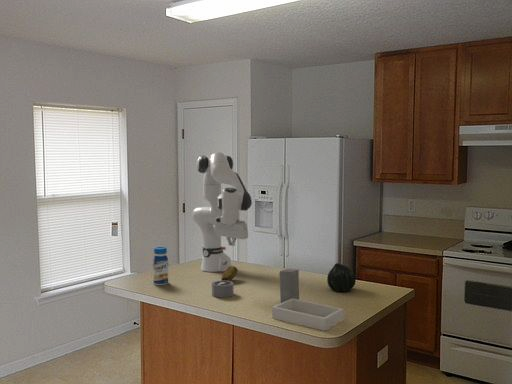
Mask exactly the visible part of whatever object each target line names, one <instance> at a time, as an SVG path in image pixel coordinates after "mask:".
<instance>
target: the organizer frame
mask: <svg viewBox="0 0 512 384" xmlns="http://www.w3.org/2000/svg"><path fill="white" fill-rule="evenodd" d="M271 308H272V310H271V311H272V313H271V314H272V319H274V320H279V321H283V322H287V323H291V324H295V325H298V326H304V327H306V328H311V329H315V330H318V331H319V330H320V331H325V330H326V331H327V330H329V329H331V328H333V327H334V326H336V325H337V323H338V322H340V321H341V320H343V321H344V308H341V307H337V306H336V307H335V306H331V305H326V304H322V303H318V302H317V303H316V302H312V301H308V300H302V299H299V300H298V299H293V298H292V299H290V300H287V301H285V302H283V303H281V302H280V303H278V304H276V305H273V306H272V307H271ZM341 322H342V321H341ZM341 322H340V323H341ZM335 324H336V325H335ZM338 324H339V323H338ZM333 325H334V326H333ZM332 326H333V327H332ZM330 327H331V328H330ZM328 328H329V329H328Z"/></svg>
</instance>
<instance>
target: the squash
mask: <svg viewBox="0 0 512 384" xmlns="http://www.w3.org/2000/svg"><path fill="white" fill-rule="evenodd" d="M326 279H327V281H326V282H327V285H328V287H329V288H330V289H331V290H332V291H336V292H338V293H341V292H343V293H347V292H348V291H351V290H352V289H353V288H354V287H355V285H356V275H355V273H354V271H353V270H352V269H350V268H349V267H348V266H346V265H345V264H344V265H343V264H342V263H335V264H334V265H333V266H332V268H331V269H330V270H329V272H328V274H327V278H326Z"/></svg>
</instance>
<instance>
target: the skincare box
mask: <svg viewBox="0 0 512 384" xmlns="http://www.w3.org/2000/svg"><path fill="white" fill-rule="evenodd" d="M299 271H300V270H299V269H296V268H285V269H282V270H280V271H279V290H280V292H279V294H280V298H279V299H280V303H283V302H285V301H287V300H290V299H292V298H293V299H298V300H300V284H299V283H300V282H299V281H300V279H299Z"/></svg>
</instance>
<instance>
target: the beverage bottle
mask: <svg viewBox="0 0 512 384" xmlns="http://www.w3.org/2000/svg"><path fill="white" fill-rule="evenodd" d="M153 249H154V250H153V252H154V253H153V254H154V257H153V259H152V261H153V263H152V267H153V284H154V286H155V285H156V286H164V285H168V284H169V262H168V261H169V257H168V256H167V252H168V251H167V250H168V249H167V247H165V246H156V247H154V248H153Z"/></svg>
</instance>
